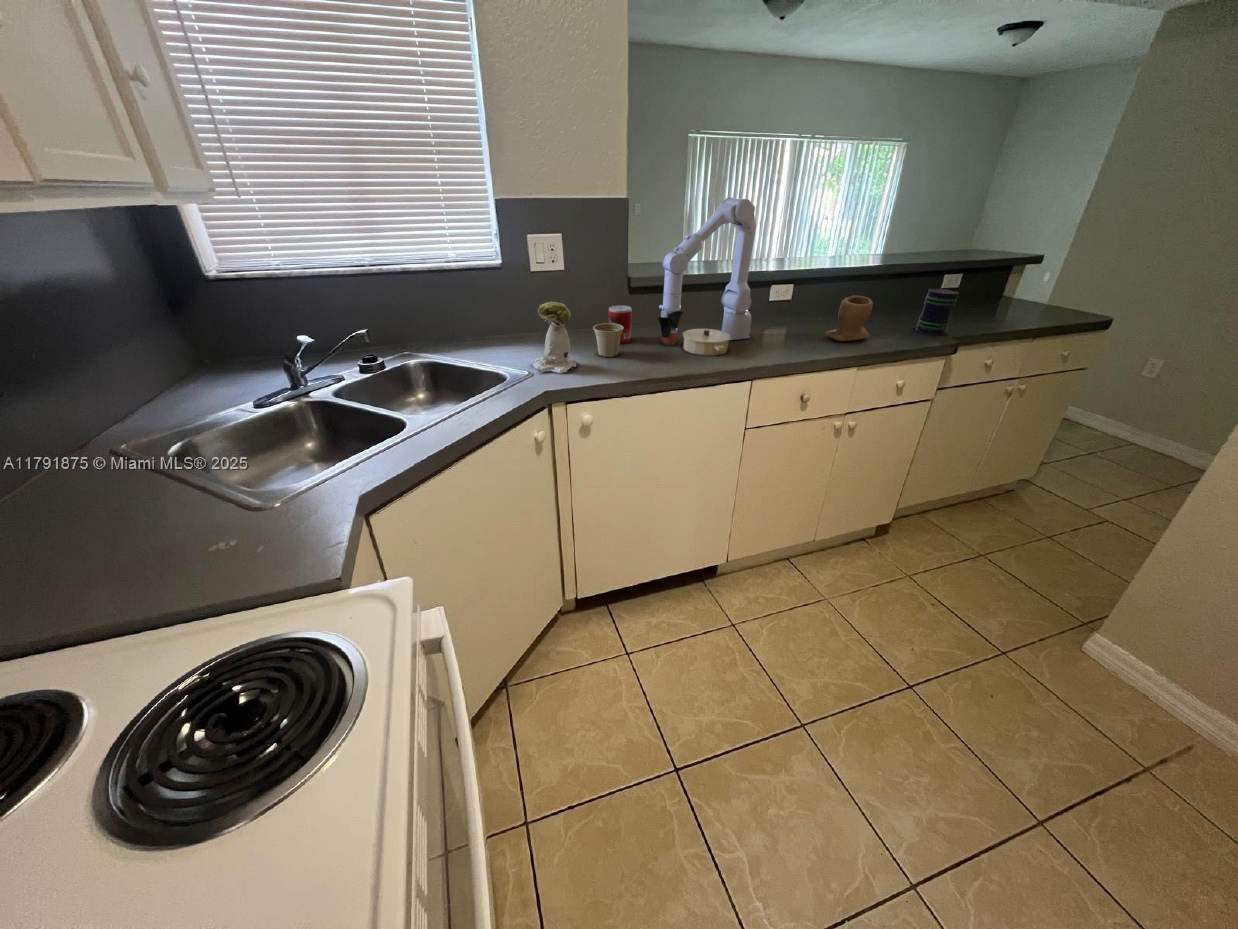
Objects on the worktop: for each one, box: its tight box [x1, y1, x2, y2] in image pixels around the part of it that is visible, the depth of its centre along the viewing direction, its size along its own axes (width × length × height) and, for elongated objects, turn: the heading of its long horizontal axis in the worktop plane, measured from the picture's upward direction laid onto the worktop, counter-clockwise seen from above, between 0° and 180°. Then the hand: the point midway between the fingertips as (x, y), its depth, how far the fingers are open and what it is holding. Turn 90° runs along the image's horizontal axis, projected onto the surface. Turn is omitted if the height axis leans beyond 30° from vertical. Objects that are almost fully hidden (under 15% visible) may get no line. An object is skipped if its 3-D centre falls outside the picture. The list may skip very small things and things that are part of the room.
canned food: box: [608, 304, 633, 345], centre depth 165 cm, size 8×8×11 cm
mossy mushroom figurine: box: [532, 301, 578, 374], centre depth 139 cm, size 12×13×18 cm
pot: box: [682, 336, 730, 356], centre depth 161 cm, size 15×20×4 cm
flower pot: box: [592, 322, 624, 358], centre depth 152 cm, size 9×9×9 cm
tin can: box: [661, 327, 678, 346], centre depth 165 cm, size 5×5×5 cm
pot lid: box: [682, 328, 731, 344], centre depth 159 cm, size 16×16×3 cm
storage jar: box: [915, 287, 960, 336], centre depth 182 cm, size 10×10×15 cm
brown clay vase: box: [825, 295, 873, 342], centre depth 170 cm, size 15×12×15 cm
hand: (669, 334), depth 165 cm, fingers open, 7 cm apart
